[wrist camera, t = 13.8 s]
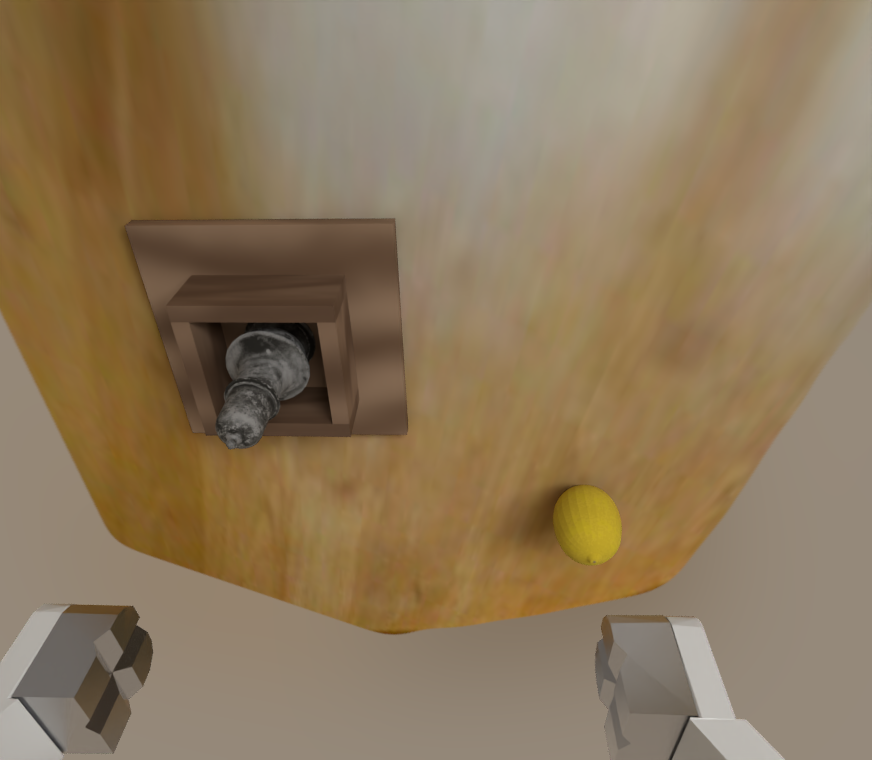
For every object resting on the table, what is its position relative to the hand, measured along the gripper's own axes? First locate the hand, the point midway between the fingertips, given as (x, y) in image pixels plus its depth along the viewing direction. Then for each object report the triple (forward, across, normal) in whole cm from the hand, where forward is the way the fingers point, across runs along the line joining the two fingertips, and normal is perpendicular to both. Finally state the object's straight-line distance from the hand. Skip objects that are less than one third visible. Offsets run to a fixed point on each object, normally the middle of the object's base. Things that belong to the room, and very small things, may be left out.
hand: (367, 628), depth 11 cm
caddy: (+33, +12, +14) cm, 38 cm away
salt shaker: (+32, +12, +14) cm, 37 cm away
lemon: (+33, -12, +30) cm, 46 cm away
